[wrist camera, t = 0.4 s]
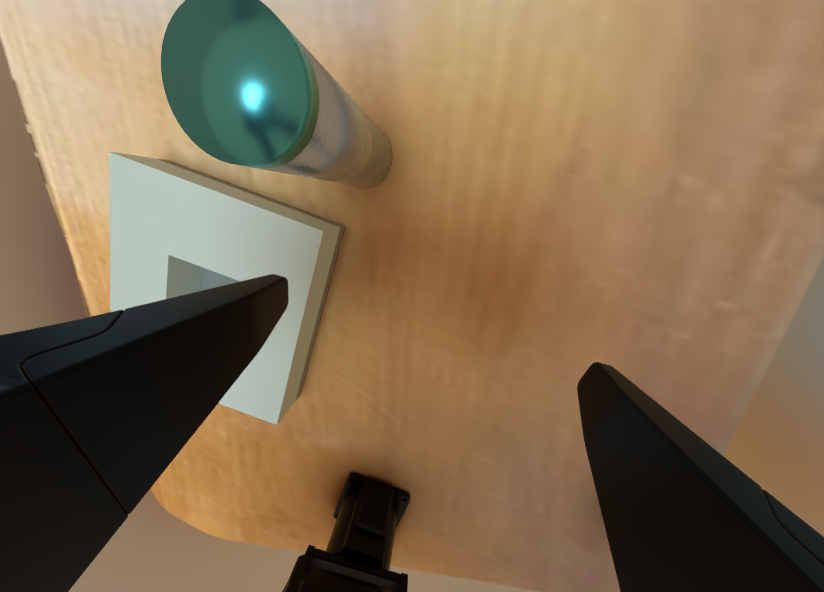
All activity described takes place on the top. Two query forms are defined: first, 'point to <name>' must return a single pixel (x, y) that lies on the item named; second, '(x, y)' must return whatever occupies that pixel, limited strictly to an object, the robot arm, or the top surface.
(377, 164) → the pin
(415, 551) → the top surface
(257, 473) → the top surface
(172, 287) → the socket block
